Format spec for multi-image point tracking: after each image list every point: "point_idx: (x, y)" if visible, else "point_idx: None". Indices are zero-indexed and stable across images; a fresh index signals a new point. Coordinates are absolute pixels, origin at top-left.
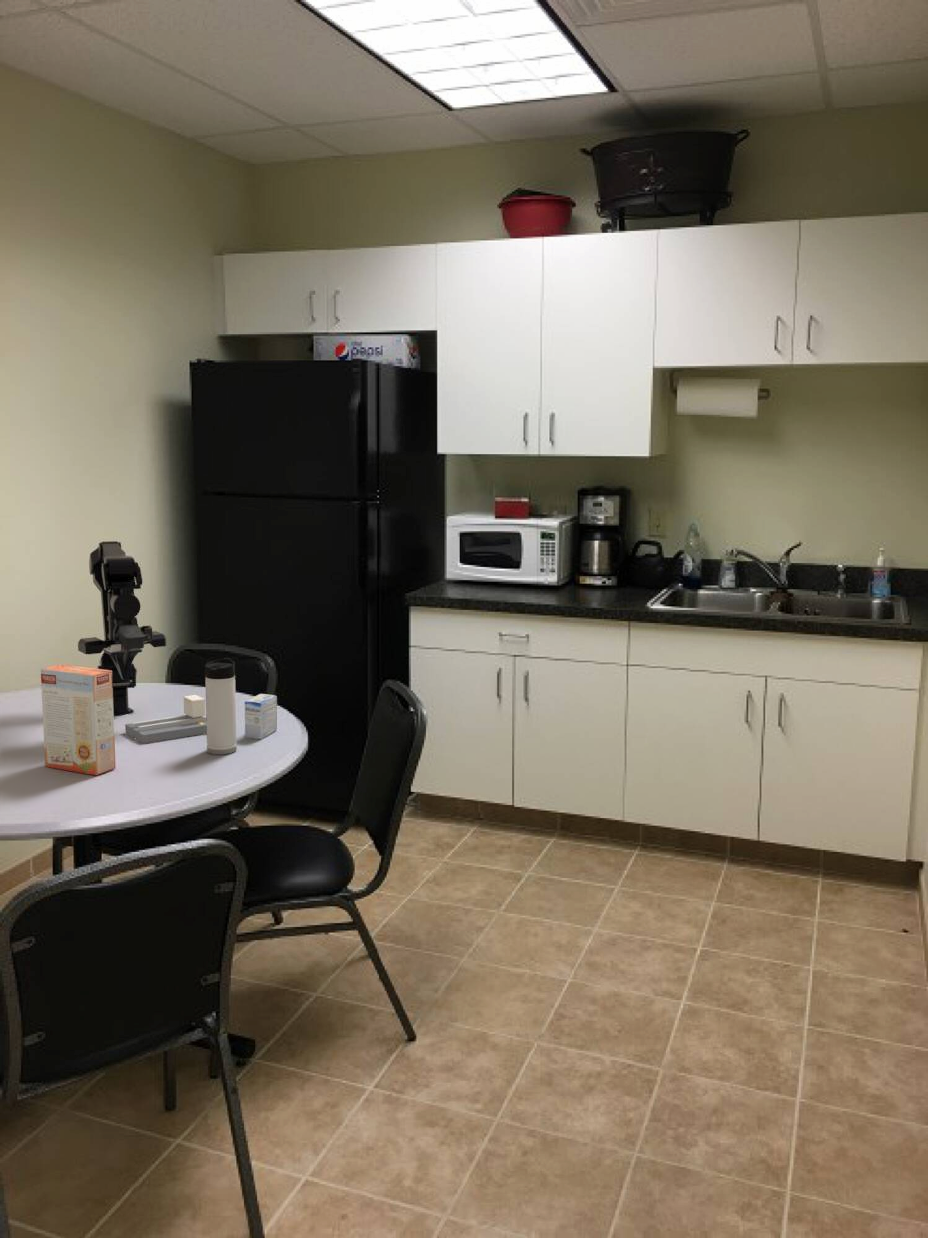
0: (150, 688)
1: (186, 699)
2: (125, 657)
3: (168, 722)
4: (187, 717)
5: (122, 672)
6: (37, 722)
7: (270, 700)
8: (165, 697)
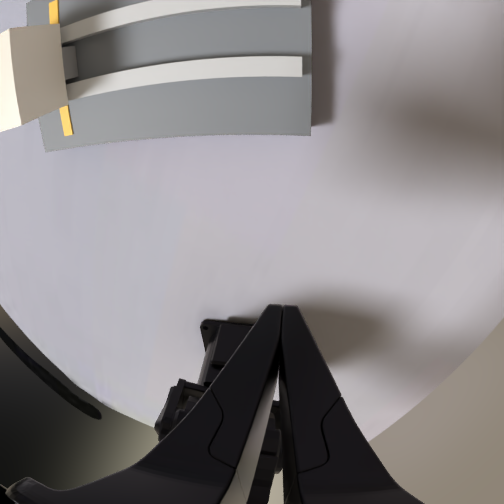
0: (140, 409)
1: (20, 92)
2: (240, 488)
3: (155, 5)
4: (70, 71)
5: (307, 347)
6: (427, 353)
7: None
8: (117, 367)
